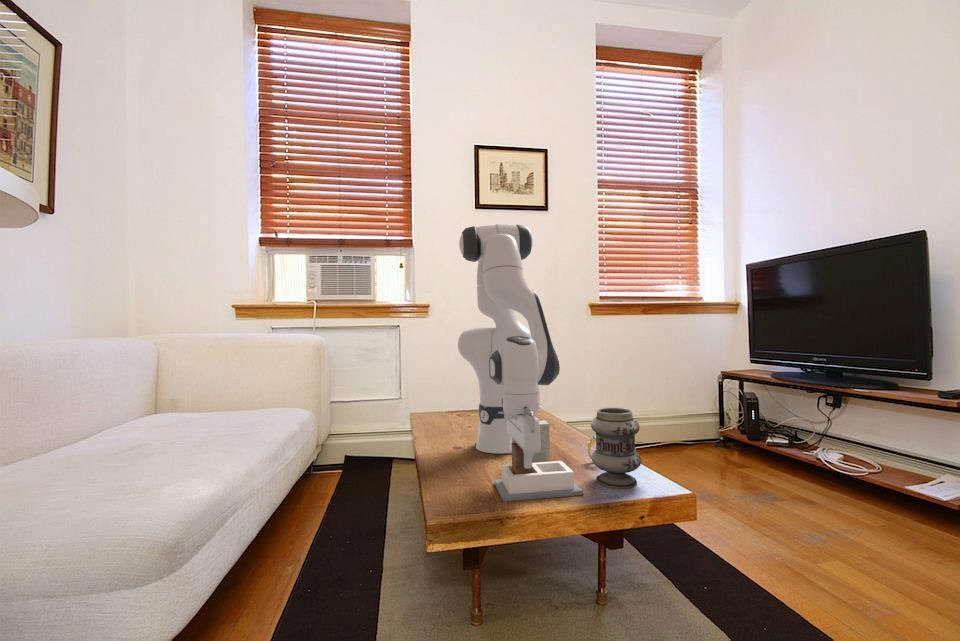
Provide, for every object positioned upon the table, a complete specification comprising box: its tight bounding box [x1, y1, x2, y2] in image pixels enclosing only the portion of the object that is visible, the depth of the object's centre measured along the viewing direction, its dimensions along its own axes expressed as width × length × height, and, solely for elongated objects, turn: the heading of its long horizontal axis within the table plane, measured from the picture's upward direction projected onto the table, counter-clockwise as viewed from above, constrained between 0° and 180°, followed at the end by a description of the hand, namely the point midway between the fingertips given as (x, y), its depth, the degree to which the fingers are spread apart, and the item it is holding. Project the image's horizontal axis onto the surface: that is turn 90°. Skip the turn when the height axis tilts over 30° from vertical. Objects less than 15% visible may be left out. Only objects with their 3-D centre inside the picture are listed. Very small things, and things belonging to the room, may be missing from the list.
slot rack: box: [493, 460, 584, 502], centre depth 104 cm, size 19×11×5 cm, turn 99°
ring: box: [586, 433, 596, 460], centre depth 123 cm, size 7×3×8 cm, turn 93°
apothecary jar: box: [590, 407, 642, 489], centre depth 108 cm, size 12×12×18 cm
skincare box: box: [532, 420, 551, 463], centre depth 122 cm, size 6×4×12 cm
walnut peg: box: [511, 443, 532, 475], centre depth 103 cm, size 4×4×10 cm
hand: (522, 460), depth 103 cm, fingers open, 8 cm apart
